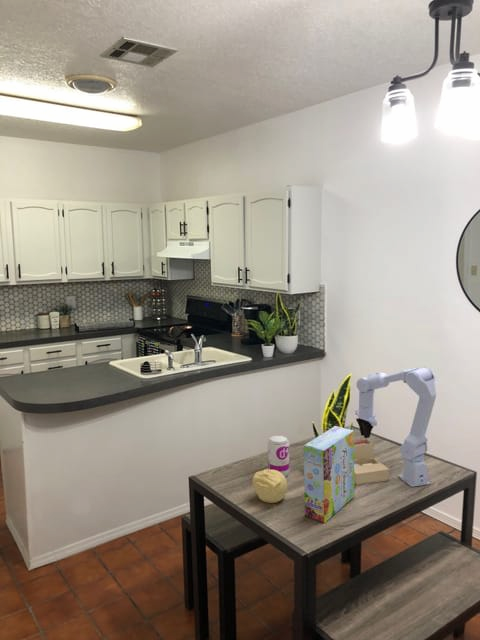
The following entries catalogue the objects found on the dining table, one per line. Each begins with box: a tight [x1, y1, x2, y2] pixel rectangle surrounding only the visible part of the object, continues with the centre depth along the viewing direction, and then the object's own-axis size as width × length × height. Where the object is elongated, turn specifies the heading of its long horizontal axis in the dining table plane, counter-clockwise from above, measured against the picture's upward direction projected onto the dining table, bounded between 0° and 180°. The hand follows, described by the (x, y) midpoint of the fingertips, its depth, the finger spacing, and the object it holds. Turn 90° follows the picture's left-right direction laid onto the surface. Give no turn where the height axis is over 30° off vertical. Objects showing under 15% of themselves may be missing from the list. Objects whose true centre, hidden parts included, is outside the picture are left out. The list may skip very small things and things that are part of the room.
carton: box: [354, 457, 390, 486], centre depth 200 cm, size 12×14×4 cm
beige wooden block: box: [354, 438, 375, 460], centre depth 207 cm, size 6×14×5 cm
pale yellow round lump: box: [251, 468, 288, 504], centre depth 183 cm, size 12×12×11 cm
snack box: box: [303, 425, 355, 524], centre depth 176 cm, size 22×9×26 cm, turn 141°
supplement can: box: [267, 434, 290, 478], centre depth 202 cm, size 8×8×15 cm
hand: (365, 436), depth 213 cm, fingers closed
